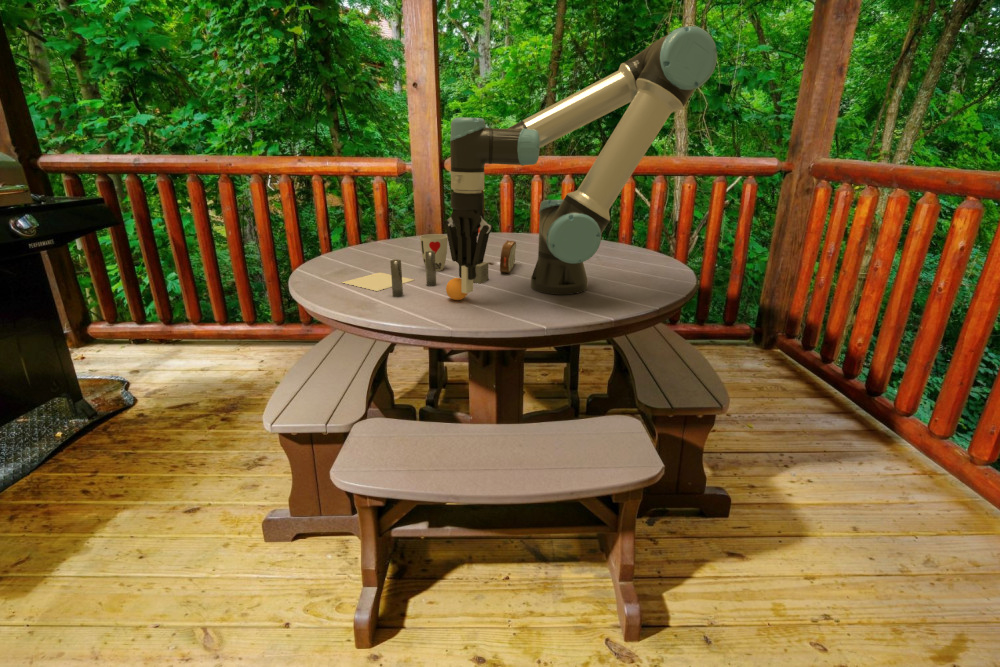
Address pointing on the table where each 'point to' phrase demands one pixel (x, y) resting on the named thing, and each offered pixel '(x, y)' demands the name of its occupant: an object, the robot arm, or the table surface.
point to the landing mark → (375, 281)
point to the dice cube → (481, 273)
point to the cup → (435, 248)
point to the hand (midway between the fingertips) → (467, 291)
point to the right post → (430, 268)
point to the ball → (455, 289)
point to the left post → (396, 278)
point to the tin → (507, 256)
